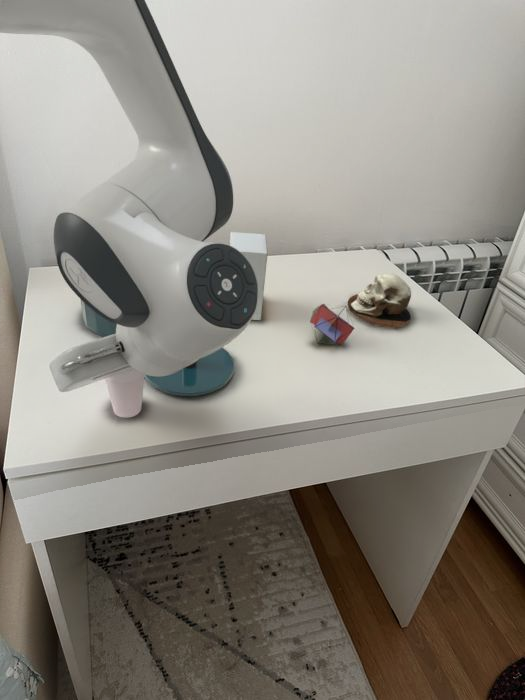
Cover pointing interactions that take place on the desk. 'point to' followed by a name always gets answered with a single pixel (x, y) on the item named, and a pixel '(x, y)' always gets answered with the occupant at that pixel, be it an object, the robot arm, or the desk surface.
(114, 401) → the smoothie
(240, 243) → the small box
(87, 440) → the desk surface
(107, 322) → the pot
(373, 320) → the skull
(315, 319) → the geometric puzzle
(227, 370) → the lid
